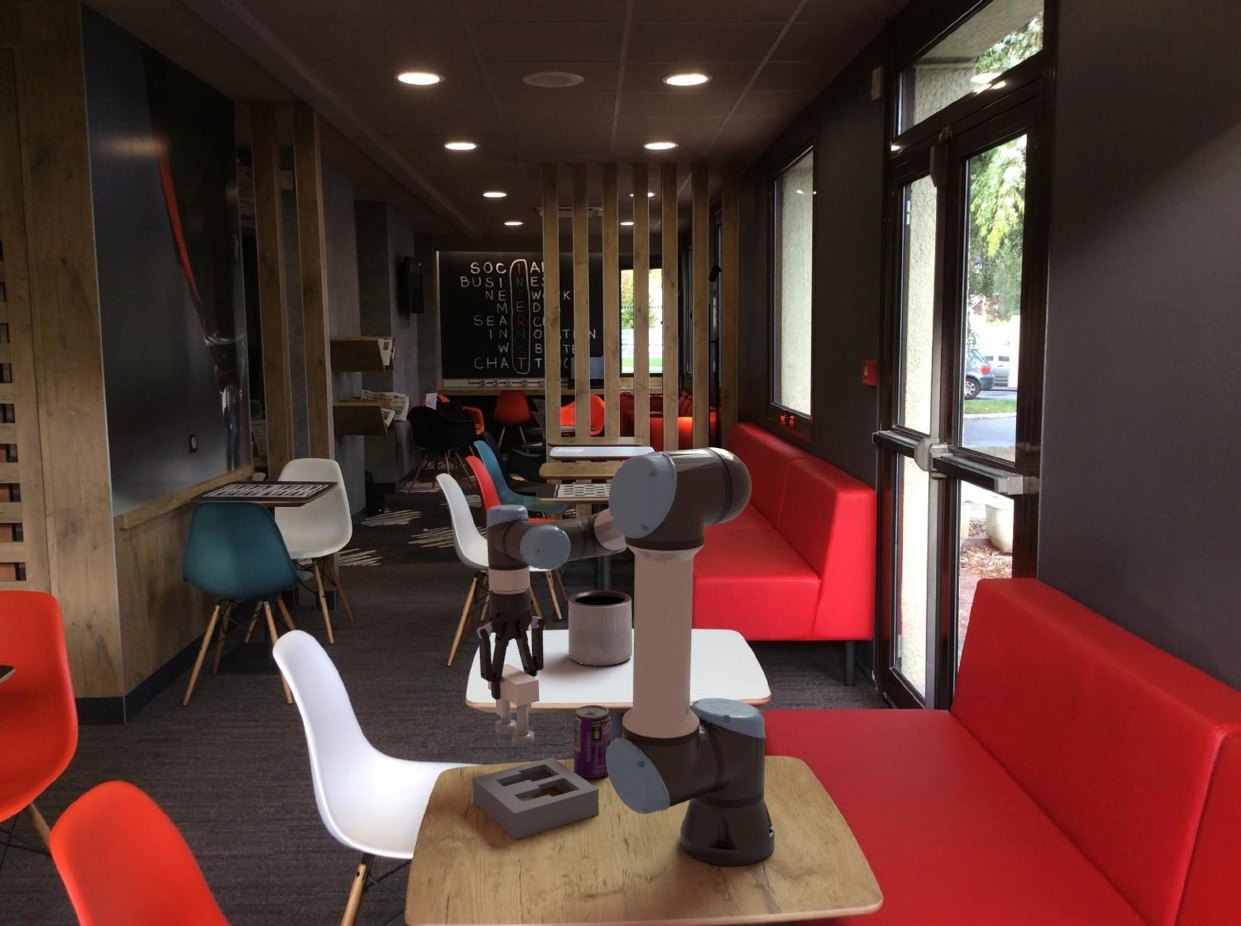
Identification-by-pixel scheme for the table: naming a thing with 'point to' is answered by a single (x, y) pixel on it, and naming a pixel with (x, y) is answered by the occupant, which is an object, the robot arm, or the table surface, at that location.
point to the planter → (600, 627)
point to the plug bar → (517, 704)
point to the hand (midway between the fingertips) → (513, 711)
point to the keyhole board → (533, 816)
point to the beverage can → (591, 740)
